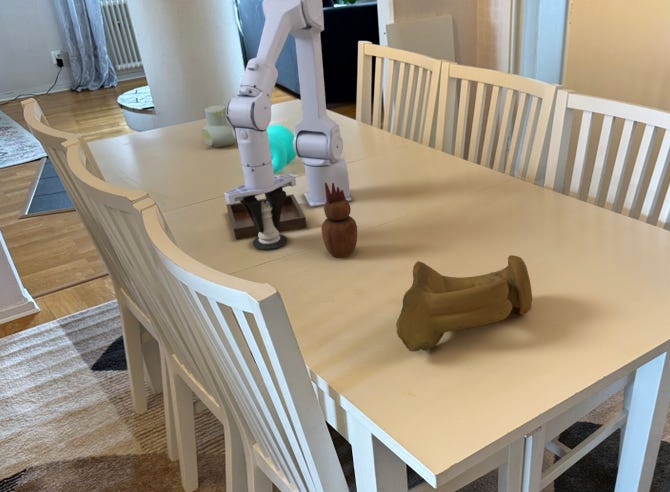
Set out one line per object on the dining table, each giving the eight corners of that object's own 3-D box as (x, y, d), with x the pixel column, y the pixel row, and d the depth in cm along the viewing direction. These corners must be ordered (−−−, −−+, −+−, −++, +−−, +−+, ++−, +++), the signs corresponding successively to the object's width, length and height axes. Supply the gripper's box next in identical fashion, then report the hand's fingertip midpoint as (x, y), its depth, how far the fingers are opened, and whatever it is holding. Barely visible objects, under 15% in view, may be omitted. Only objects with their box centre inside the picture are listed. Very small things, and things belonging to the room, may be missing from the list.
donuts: (301, 162, 178) (296, 124, 173) (286, 176, 171) (281, 136, 165) (266, 160, 181) (260, 122, 175) (250, 174, 173) (243, 134, 167)
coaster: (284, 233, 143) (284, 231, 143) (290, 246, 138) (290, 245, 138) (250, 238, 142) (250, 236, 141) (255, 252, 136) (255, 250, 136)
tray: (294, 204, 156) (293, 194, 155) (307, 227, 145) (305, 217, 144) (228, 214, 152) (226, 204, 151) (235, 239, 141) (233, 229, 140)
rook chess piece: (270, 234, 142) (264, 197, 137) (285, 239, 140) (279, 202, 135) (254, 241, 139) (247, 204, 135) (268, 247, 137) (262, 210, 132)
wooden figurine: (327, 262, 132) (318, 188, 123) (322, 249, 136) (313, 177, 128) (361, 257, 133) (355, 183, 124) (355, 244, 138) (349, 172, 129)
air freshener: (201, 143, 195) (193, 107, 189) (227, 136, 199) (221, 101, 193) (216, 152, 187) (209, 115, 182) (244, 145, 191) (238, 109, 186)
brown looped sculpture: (386, 259, 116) (513, 231, 115) (402, 331, 120) (526, 304, 119) (384, 280, 98) (535, 247, 97) (404, 364, 102) (549, 333, 101)
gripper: (279, 148, 136) (288, 212, 144) (212, 165, 129) (225, 232, 137) (297, 156, 132) (306, 222, 139) (229, 175, 124) (242, 243, 132)
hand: (267, 228), depth 138 cm, fingers closed on rook chess piece, 3 cm apart
